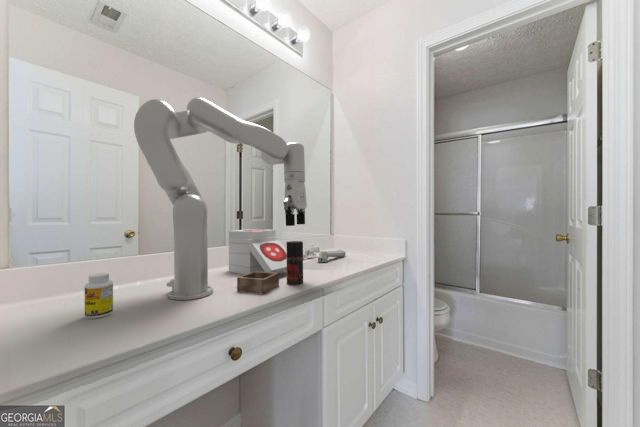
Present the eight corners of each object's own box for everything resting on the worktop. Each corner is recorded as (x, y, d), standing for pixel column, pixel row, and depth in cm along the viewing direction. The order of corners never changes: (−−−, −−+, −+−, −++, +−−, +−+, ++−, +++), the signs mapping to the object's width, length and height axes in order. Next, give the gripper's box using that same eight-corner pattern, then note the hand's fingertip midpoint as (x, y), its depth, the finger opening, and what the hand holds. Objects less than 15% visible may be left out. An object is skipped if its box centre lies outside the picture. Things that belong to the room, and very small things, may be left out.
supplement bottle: (79, 317, 66) (79, 276, 66) (104, 310, 72) (104, 271, 72) (93, 320, 64) (93, 278, 64) (118, 312, 69) (118, 273, 70)
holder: (237, 291, 88) (237, 277, 88) (253, 283, 98) (253, 271, 98) (264, 294, 85) (264, 279, 85) (278, 285, 94) (278, 273, 94)
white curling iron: (346, 250, 158) (324, 249, 137) (346, 261, 157) (323, 262, 136) (338, 249, 161) (315, 248, 140) (338, 261, 160) (314, 261, 139)
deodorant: (284, 282, 99) (284, 241, 100) (300, 280, 102) (299, 240, 102) (289, 286, 94) (289, 243, 94) (305, 284, 96) (305, 242, 96)
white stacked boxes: (267, 281, 101) (267, 233, 101) (222, 271, 120) (222, 230, 120) (301, 272, 116) (301, 230, 116) (256, 264, 135) (256, 228, 135)
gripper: (294, 174, 89) (296, 226, 89) (312, 179, 105) (313, 223, 105) (274, 175, 91) (275, 226, 91) (294, 181, 107) (295, 223, 108)
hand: (295, 224), depth 98 cm, fingers open, 9 cm apart
